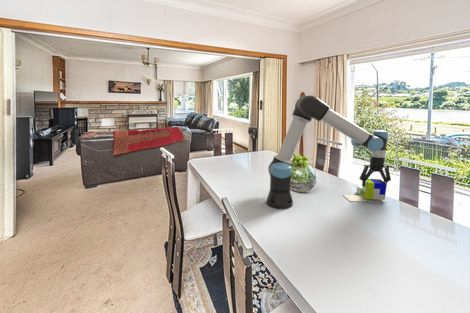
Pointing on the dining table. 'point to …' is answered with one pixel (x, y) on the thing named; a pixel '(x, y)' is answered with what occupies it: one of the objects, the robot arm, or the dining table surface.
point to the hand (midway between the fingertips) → (373, 191)
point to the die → (359, 190)
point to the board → (360, 198)
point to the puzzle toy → (375, 189)
